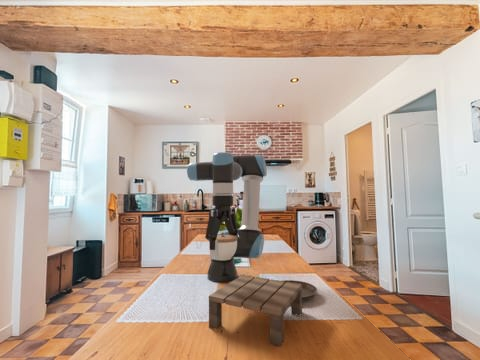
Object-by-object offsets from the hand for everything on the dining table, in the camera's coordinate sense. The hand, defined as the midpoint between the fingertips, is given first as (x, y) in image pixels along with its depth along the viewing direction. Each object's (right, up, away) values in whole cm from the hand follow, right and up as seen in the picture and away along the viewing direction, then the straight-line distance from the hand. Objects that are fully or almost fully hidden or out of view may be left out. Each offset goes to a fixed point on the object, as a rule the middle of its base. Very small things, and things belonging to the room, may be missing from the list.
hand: (222, 255), depth 98 cm
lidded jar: (0, -1, 0) cm, 1 cm away
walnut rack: (+12, -20, -6) cm, 24 cm away
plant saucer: (+28, -21, +15) cm, 38 cm away
